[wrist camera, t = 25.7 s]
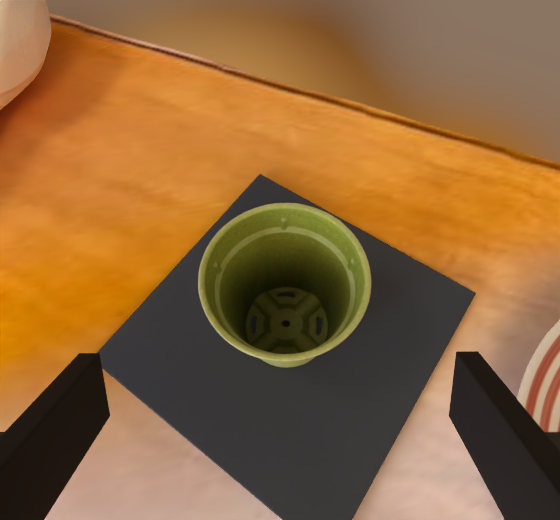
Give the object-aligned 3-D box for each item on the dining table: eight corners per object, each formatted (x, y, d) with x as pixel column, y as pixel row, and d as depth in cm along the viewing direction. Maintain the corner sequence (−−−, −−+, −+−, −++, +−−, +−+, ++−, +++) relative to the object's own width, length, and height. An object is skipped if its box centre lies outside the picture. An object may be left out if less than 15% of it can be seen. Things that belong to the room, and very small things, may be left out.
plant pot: (347, 266, 33) (362, 199, 25) (358, 392, 28) (381, 358, 21) (226, 269, 33) (204, 204, 25) (219, 394, 28) (190, 361, 21)
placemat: (329, 558, 25) (330, 559, 24) (94, 360, 30) (91, 358, 30) (473, 295, 32) (476, 292, 31) (260, 178, 38) (259, 173, 37)
